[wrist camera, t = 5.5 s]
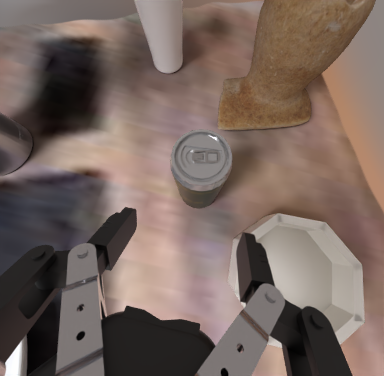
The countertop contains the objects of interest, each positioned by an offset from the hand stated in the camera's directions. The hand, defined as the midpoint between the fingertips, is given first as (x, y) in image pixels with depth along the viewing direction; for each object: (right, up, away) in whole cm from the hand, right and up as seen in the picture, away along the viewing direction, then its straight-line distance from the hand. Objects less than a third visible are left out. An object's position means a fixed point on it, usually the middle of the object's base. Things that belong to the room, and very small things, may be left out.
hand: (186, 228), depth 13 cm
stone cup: (+12, +17, +17) cm, 27 cm away
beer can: (+1, +3, +13) cm, 13 cm away
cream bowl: (+12, -8, +10) cm, 17 cm away
